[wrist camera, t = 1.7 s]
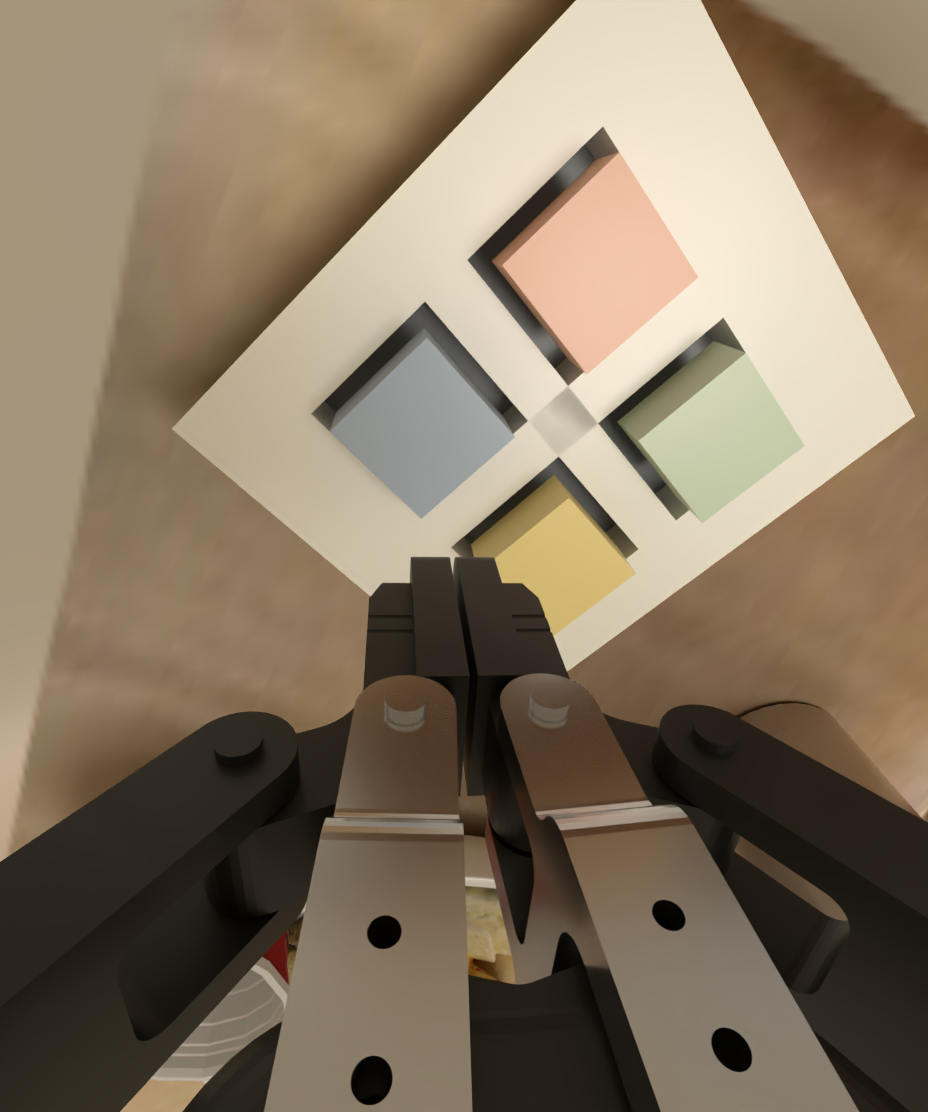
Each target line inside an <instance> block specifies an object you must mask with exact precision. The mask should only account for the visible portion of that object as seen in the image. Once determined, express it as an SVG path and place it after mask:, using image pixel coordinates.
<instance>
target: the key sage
mask: <svg viewBox="0 0 928 1112" xmlns="http://www.w3.org/2000/svg"><path fill="white" fill-rule="evenodd" d="M618 423H619V425H620V426H621V427H622V428H623V430H624V431H625V432H626V434H627V435H628V436H629V437H630V439H631V440H632V441H633V442H634V444H635V445H636V446H637V448H638V449H639V450H640V451H641V453H642V454H643V455H644V457H645V458H646V459H647V460H648V462H649V463H650V464H651V465H652V467H653V468H654V469H655V471H656V472H657V473H658V474H659V476H660V477H661V478H662V480H663V481H664V482H665V483H666V485H667V486H668V487H669V488H670V490H671V491H672V492H673V494H674V495H675V496H676V497H677V499H678V500H679V501H680V502H681V503H682V504H683V505H684V506H686V507H687V508H688V509H689V510H690V511H691V512H692V513H693V514H694V515H695V516H696V517H697V518H698V519H699V520H700V521H701V522H702V523H703V522H705V521H706V520H707V519H709V518H710V517H711V516H713V515H714V514H715V513H717V512H718V511H719V510H720V509H722V508H723V507H724V506H726V505H727V504H728V503H730V502H731V501H732V500H734V499H735V498H736V497H738V496H739V495H740V494H742V493H743V492H744V491H746V490H747V489H748V488H750V487H751V486H752V485H754V484H755V483H756V482H757V481H759V480H760V479H761V478H763V477H764V476H765V475H767V474H768V473H769V472H771V471H772V470H773V469H775V468H776V467H777V466H779V465H780V464H781V463H783V462H784V461H785V460H787V459H788V458H789V457H790V456H792V455H793V454H794V453H796V452H797V451H798V450H800V449H801V448H802V447H804V444H803V443H802V441H801V439H800V438H799V436H798V435H797V433H796V431H795V430H794V428H793V427H792V425H791V423H790V422H789V420H788V419H787V417H786V416H785V414H784V412H783V411H782V409H781V408H780V406H779V404H778V403H777V401H776V400H775V398H774V396H773V395H772V393H771V392H770V390H769V389H768V387H767V385H766V384H765V382H764V381H763V379H762V377H761V376H760V374H759V373H758V371H757V370H756V368H755V366H754V365H753V363H752V362H751V360H750V358H749V357H748V355H747V354H746V353H745V352H742V351H740V350H737V349H734V348H732V347H729V346H726V345H724V344H721V343H718V342H715V341H713V342H712V343H711V344H710V345H709V346H707V347H706V348H705V349H704V350H703V351H701V352H700V353H699V354H698V355H697V356H695V357H694V358H693V359H692V360H691V361H689V362H688V363H687V364H686V365H685V366H683V367H682V368H681V369H680V370H679V371H677V372H676V373H675V374H674V375H673V376H672V377H670V378H669V379H668V380H667V381H666V382H664V383H663V384H662V385H661V386H660V387H658V388H657V389H656V390H655V391H654V392H652V393H651V394H650V395H649V396H648V397H646V398H645V399H644V400H643V401H642V402H640V403H639V404H638V405H637V406H636V407H634V408H633V409H632V410H631V411H630V412H628V413H627V414H626V415H625V416H624V417H622V418H621V419H620V420H619V421H618Z"/></svg>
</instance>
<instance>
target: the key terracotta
mask: <svg viewBox="0 0 928 1112" xmlns="http://www.w3.org/2000/svg"><path fill="white" fill-rule="evenodd" d="M492 262H493V264H494V265H495V266H496V268H497V269H498V270H499V271H500V273H501V274H502V275H503V276H504V278H505V279H506V280H507V282H508V283H509V284H510V285H511V287H512V288H513V289H514V291H515V292H516V293H517V294H518V296H519V297H520V298H521V299H522V301H523V302H524V303H525V305H526V306H527V307H528V308H529V310H530V311H531V312H532V313H533V315H534V316H535V317H536V319H537V320H538V321H539V322H540V324H541V325H542V326H543V328H544V329H545V330H546V331H547V333H548V334H549V335H550V336H551V338H552V339H553V340H554V342H555V343H556V344H557V345H558V347H559V348H560V349H561V351H562V352H563V353H564V354H565V356H566V357H567V358H568V359H569V361H571V362H572V363H573V364H574V365H576V366H577V367H578V368H579V369H581V370H582V371H583V372H584V373H586V374H588V373H589V372H590V371H592V370H593V369H594V368H595V367H596V366H597V365H598V364H600V363H601V362H602V361H603V360H604V359H605V358H606V357H608V356H609V355H610V354H611V353H612V352H613V351H614V350H616V349H617V348H618V347H619V346H620V345H621V344H623V343H624V342H625V341H626V340H627V339H628V338H629V337H631V336H632V335H633V334H634V333H635V332H636V331H637V330H639V329H640V328H641V327H642V326H643V325H644V324H645V323H647V322H648V321H649V320H650V319H651V318H652V317H653V316H655V315H656V314H657V313H658V312H659V311H660V310H662V309H663V308H664V307H665V306H666V305H667V304H668V303H670V302H671V301H672V300H673V299H674V298H675V297H676V296H678V295H679V294H680V293H681V292H682V291H683V290H684V289H686V288H687V287H688V286H689V285H690V284H691V283H692V282H694V281H695V280H696V279H697V278H698V276H697V274H696V273H695V271H694V270H693V268H692V266H691V265H690V263H689V262H688V260H687V258H686V257H685V255H684V254H683V252H682V250H681V249H680V247H679V246H678V244H677V243H676V241H675V239H674V238H673V236H672V235H671V233H670V231H669V230H668V228H667V227H666V225H665V223H664V222H663V220H662V219H661V217H660V216H659V214H658V212H657V211H656V209H655V208H654V206H653V204H652V203H651V201H650V200H649V198H648V197H647V195H646V193H645V192H644V190H643V189H642V187H641V185H640V184H639V182H638V181H637V179H636V177H635V176H634V174H633V173H632V171H631V170H630V168H629V166H628V165H627V163H626V162H625V160H624V158H623V157H622V155H621V154H620V152H618V153H615V154H612V155H609V156H605V157H602V158H599V159H596V160H595V161H594V162H593V163H592V164H591V165H590V166H589V167H588V168H587V169H586V170H585V171H584V172H582V173H581V174H580V175H579V176H578V177H577V178H576V179H575V180H574V181H573V182H572V183H571V184H570V185H569V186H568V187H567V188H566V189H565V190H564V191H563V192H562V193H561V194H560V195H559V196H558V197H557V198H556V199H555V200H554V201H553V202H552V203H551V204H550V205H549V206H548V207H547V208H545V209H544V210H543V211H542V212H541V213H540V214H539V215H538V216H537V217H536V218H535V219H534V220H533V221H532V222H531V223H530V224H529V225H528V226H527V227H526V228H525V229H524V230H523V231H522V232H521V233H520V234H519V235H518V236H517V237H516V238H515V239H514V240H513V241H512V242H511V243H509V244H508V245H507V246H506V247H505V248H504V249H503V250H502V251H501V252H500V253H499V254H498V255H497V256H496V257H495V258H494V259H493V260H492Z"/></svg>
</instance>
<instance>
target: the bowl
mask: <svg viewBox="0 0 928 1112" xmlns="http://www.w3.org/2000/svg"><path fill="white" fill-rule="evenodd" d="M464 857H465V889H466V921H467V954H468V975H472V976H477V977H482V978H486V979H491V980H496V981H501V982H506V983H510V984H515V975H514V967H513V960H512V955H511V951H510V946H509V942H508V938H507V933H506V929H505V924H504V920H503V916H502V911H501V907H500V903H499V898H498V894H497V890H496V885H495V881H494V877H493V872H492V868H491V864H490V859H489V855H488V850H487V846H486V840H485V837H478V836H470V835H464ZM306 903H307V902H306ZM305 908H306V905H305V907H304V909H303V910H302V912H301V914H300V915H299V916H298V918H297V919H296V920H295V921H294V923H293V924H292V925H291V926H290V927H289V928H288V929H287V930H286V940H287V950H288V960H287V967H288V977H289V981H288V985H289V986H290V982H291V977H292V972H293V967H294V962H295V957H296V952H297V947H298V942H299V937H300V933H301V928H302V923H303V918H304V913H305ZM208 1081H209V1080H208ZM208 1081H203V1082H204V1083H205V1084H206V1083H207V1082H208Z"/></svg>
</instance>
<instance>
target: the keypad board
mask: <svg viewBox="0 0 928 1112" xmlns="http://www.w3.org/2000/svg"><path fill="white" fill-rule="evenodd" d="M618 152H620V154H621V155H622V157H623V158H624V160H625V162H626V163H627V165H628V166H629V168H630V170H631V171H632V173H633V174H634V176H635V177H636V179H637V181H638V182H639V184H640V185H641V187H642V189H643V190H644V192H645V193H646V195H647V197H648V198H649V200H650V201H651V203H652V204H653V206H654V208H655V209H656V211H657V212H658V214H659V216H660V217H661V219H662V220H663V222H664V223H665V225H666V227H667V228H668V230H669V231H670V233H671V235H672V236H673V238H674V239H675V241H676V243H677V244H678V246H679V247H680V249H681V250H682V252H683V254H684V255H685V257H686V258H687V260H688V262H689V263H690V265H691V266H692V268H693V270H694V271H695V273H696V274H697V276H698V278H697V279H696V280H695V281H694V282H692V283H691V284H690V285H689V286H688V287H687V288H686V289H684V290H683V291H682V292H681V293H680V294H679V295H678V296H676V297H675V298H674V299H673V300H672V301H671V302H670V303H668V304H667V305H666V306H665V307H664V308H663V309H662V310H660V311H659V312H658V313H657V314H656V315H655V316H653V317H652V318H651V319H650V320H649V321H648V322H647V323H645V324H644V325H643V326H642V327H641V328H640V329H639V330H637V331H636V332H635V333H634V334H633V335H632V336H631V337H629V338H628V339H627V340H626V341H625V342H624V343H623V344H621V345H620V346H619V347H618V348H617V349H616V350H614V351H613V352H612V353H611V354H610V355H609V356H608V357H606V358H605V359H604V360H603V361H602V362H601V363H600V364H598V365H597V366H596V367H595V368H594V369H593V370H592V371H590V372H589V373H588V374H586V373H584V372H583V371H582V370H581V369H579V368H578V367H577V366H576V365H574V364H573V363H572V362H571V361H569V359H568V358H567V357H566V356H565V354H564V353H563V352H562V351H561V349H560V348H559V347H558V345H557V344H556V343H555V342H554V340H553V339H552V338H551V336H550V335H549V334H548V333H547V331H546V330H545V329H544V328H543V326H542V325H541V324H540V322H539V321H538V320H537V319H536V317H535V316H534V315H533V313H532V312H531V311H530V310H529V308H528V307H527V306H526V305H525V303H524V302H523V301H522V299H521V298H520V297H519V296H518V294H517V293H516V292H515V291H514V289H513V288H512V287H511V285H510V284H509V283H508V282H507V280H506V279H505V278H504V276H503V275H502V274H501V273H500V271H499V270H498V269H497V268H496V266H495V265H494V264H493V262H492V260H493V259H494V258H495V257H496V256H497V255H498V254H499V253H500V252H501V251H502V250H503V249H504V248H505V247H506V246H507V245H508V244H509V243H511V242H512V241H513V240H514V239H515V238H516V237H517V236H518V235H519V234H520V233H521V232H522V231H523V230H524V229H525V228H526V227H527V226H528V225H529V224H530V223H531V222H532V221H533V220H534V219H535V218H536V217H537V216H538V215H539V214H540V213H541V212H542V211H543V210H544V209H545V208H547V207H548V206H549V205H550V204H551V203H552V202H553V201H554V200H555V199H556V198H557V197H558V196H559V195H560V194H561V193H562V192H563V191H564V190H565V189H566V188H567V187H568V186H569V185H570V184H571V183H572V182H573V181H574V180H575V179H576V178H577V177H578V176H579V175H580V174H581V173H582V172H584V171H585V170H586V169H587V168H588V167H589V166H590V165H591V164H592V163H593V162H594V161H595V160H596V159H599V158H602V157H605V156H609V155H612V154H615V153H618ZM423 327H425V328H426V330H427V331H428V332H429V333H430V334H431V335H432V336H433V338H434V339H435V340H436V341H437V342H438V343H439V344H440V345H441V347H442V348H443V349H444V350H445V351H446V352H447V353H448V355H449V356H450V357H451V358H452V359H453V360H454V361H455V363H456V364H457V365H458V366H459V367H460V368H461V369H462V370H463V372H464V373H465V374H466V375H467V376H468V377H469V378H470V380H471V381H472V382H473V383H474V384H475V385H476V386H477V388H478V389H479V390H480V391H481V392H482V393H483V394H484V395H485V397H486V398H487V399H488V400H489V401H490V402H491V403H492V405H493V406H494V407H495V408H496V409H497V410H498V411H499V412H500V414H501V415H502V416H503V417H504V418H505V420H506V422H507V424H508V425H509V427H510V429H511V431H512V432H513V434H514V436H515V438H514V439H512V440H511V441H510V442H509V443H508V444H507V445H506V446H504V447H503V448H502V449H501V450H500V451H499V452H497V453H496V454H495V455H494V456H493V457H492V458H491V459H489V460H488V461H487V462H486V463H485V464H484V465H483V466H481V467H480V468H479V469H478V470H477V471H476V472H475V473H473V474H472V475H471V476H470V477H469V478H468V479H467V480H465V481H464V482H463V483H462V484H461V485H460V486H458V487H457V488H456V489H455V490H454V491H453V492H452V493H450V494H449V495H448V496H447V497H446V498H445V499H444V500H442V501H441V502H440V503H439V504H438V505H437V506H436V507H434V508H433V509H432V510H431V511H430V512H429V513H428V514H426V515H425V516H424V517H423V518H422V519H421V518H420V517H419V516H418V515H417V514H416V513H415V512H414V511H413V510H411V509H410V508H409V507H408V506H407V505H406V504H405V503H404V502H403V501H402V500H401V499H400V498H399V497H398V496H397V495H396V494H395V493H394V492H393V491H392V490H391V489H389V488H388V487H387V486H386V485H385V484H384V483H383V482H382V481H381V480H380V479H379V478H378V477H377V476H376V475H375V474H374V473H373V472H372V471H371V470H370V469H369V468H367V467H366V466H365V465H364V464H363V463H362V462H361V461H360V460H359V459H358V458H357V457H356V456H355V455H354V454H353V453H352V452H351V451H350V450H349V449H348V448H347V447H345V446H344V445H343V444H342V443H341V442H340V441H339V440H338V439H337V438H336V437H335V436H334V435H333V434H332V433H331V432H330V429H331V426H332V423H333V420H334V416H335V413H336V412H337V411H338V410H339V409H340V408H341V407H342V406H343V405H344V404H345V403H346V402H347V401H348V400H349V399H350V398H351V397H352V396H353V395H354V394H355V393H356V392H357V391H358V390H359V389H360V388H361V387H362V386H363V385H364V384H365V383H367V382H368V381H369V380H370V379H371V378H372V377H373V376H374V375H375V374H376V373H377V372H378V371H379V370H380V369H381V368H382V367H383V366H384V365H385V364H386V363H387V362H388V361H389V360H390V359H391V358H392V357H393V356H394V355H395V354H396V353H397V352H398V351H399V350H400V349H401V348H403V347H404V346H405V345H406V344H407V343H408V342H409V341H410V340H411V339H412V338H413V337H414V336H415V335H416V334H417V333H418V332H419V331H420V330H421V329H422V328H423ZM713 341H715V342H718V343H721V344H724V345H726V346H729V347H732V348H734V349H737V350H740V351H742V352H745V353H746V354H747V355H748V357H749V358H750V360H751V362H752V363H753V365H754V366H755V368H756V370H757V371H758V373H759V374H760V376H761V377H762V379H763V381H764V382H765V384H766V385H767V387H768V389H769V390H770V392H771V393H772V395H773V396H774V398H775V400H776V401H777V403H778V404H779V406H780V408H781V409H782V411H783V412H784V414H785V416H786V417H787V419H788V420H789V422H790V423H791V425H792V427H793V428H794V430H795V431H796V433H797V435H798V436H799V438H800V439H801V441H802V443H803V444H804V447H802V448H801V449H800V450H798V451H797V452H796V453H794V454H793V455H792V456H790V457H789V458H788V459H787V460H785V461H784V462H783V463H781V464H780V465H779V466H777V467H776V468H775V469H773V470H772V471H771V472H769V473H768V474H767V475H765V476H764V477H763V478H761V479H760V480H759V481H757V482H756V483H755V484H754V485H752V486H751V487H750V488H748V489H747V490H746V491H744V492H743V493H742V494H740V495H739V496H738V497H736V498H735V499H734V500H732V501H731V502H730V503H728V504H727V505H726V506H724V507H723V508H722V509H720V510H719V511H718V512H717V513H715V514H714V515H713V516H711V517H710V518H709V519H707V520H706V521H705V522H703V523H702V522H701V521H700V520H699V519H698V518H697V517H696V516H695V515H694V514H693V513H692V512H691V511H690V510H689V509H688V508H687V507H686V506H684V505H683V504H682V503H681V502H680V501H679V500H678V499H677V497H676V496H675V495H674V494H673V492H672V491H671V490H670V488H669V487H668V486H667V485H666V483H665V482H664V481H663V480H662V478H661V477H660V476H659V474H658V473H657V472H656V471H655V469H654V468H653V467H652V465H651V464H650V463H649V462H648V460H647V459H646V458H645V457H644V455H643V454H642V453H641V451H640V450H639V449H638V448H637V446H636V445H635V444H634V442H633V441H632V440H631V439H630V437H629V436H628V435H627V434H626V432H625V431H624V430H623V428H622V427H621V426H620V425H619V423H618V421H619V420H620V419H621V418H622V417H624V416H625V415H626V414H627V413H628V412H630V411H631V410H632V409H633V408H634V407H636V406H637V405H638V404H639V403H640V402H642V401H643V400H644V399H645V398H646V397H648V396H649V395H650V394H651V393H652V392H654V391H655V390H656V389H657V388H658V387H660V386H661V385H662V384H663V383H664V382H666V381H667V380H668V379H669V378H670V377H672V376H673V375H674V374H675V373H676V372H677V371H679V370H680V369H681V368H682V367H683V366H685V365H686V364H687V363H688V362H689V361H691V360H692V359H693V358H694V357H695V356H697V355H698V354H699V353H700V352H701V351H703V350H704V349H705V348H706V347H707V346H709V345H710V344H711V343H712V342H713ZM913 417H915V415H914V413H913V411H912V409H911V407H910V405H909V403H908V401H907V399H906V398H905V396H904V394H903V392H902V390H901V388H900V386H899V384H898V382H897V380H896V378H895V376H894V374H893V372H892V370H891V368H890V367H889V365H888V363H887V361H886V359H885V357H884V355H883V353H882V351H881V349H880V347H879V345H878V343H877V341H876V339H875V337H874V335H873V334H872V332H871V330H870V328H869V326H868V324H867V322H866V320H865V318H864V316H863V314H862V312H861V310H860V308H859V306H858V304H857V303H856V301H855V299H854V297H853V295H852V293H851V291H850V289H849V287H848V285H847V283H846V281H845V279H844V277H843V275H842V273H841V272H840V270H839V268H838V266H837V264H836V262H835V260H834V258H833V256H832V254H831V252H830V250H829V248H828V246H827V244H826V242H825V240H824V239H823V237H822V235H821V233H820V231H819V229H818V227H817V225H816V223H815V221H814V219H813V217H812V215H811V213H810V211H809V209H808V208H807V206H806V204H805V202H804V200H803V198H802V196H801V194H800V192H799V190H798V188H797V186H796V184H795V182H794V180H793V178H792V177H791V175H790V173H789V171H788V169H787V167H786V165H785V163H784V161H783V159H782V157H781V155H780V153H779V151H778V149H777V147H776V146H775V144H774V142H773V140H772V138H771V136H770V134H769V132H768V130H767V128H766V126H765V124H764V122H763V120H762V118H761V116H760V114H759V113H758V111H757V109H756V107H755V105H754V103H753V101H752V99H751V97H750V95H749V93H748V91H747V89H746V87H745V85H744V83H743V82H742V80H741V78H740V76H739V74H738V72H737V70H736V68H735V66H734V64H733V62H732V60H731V58H730V56H729V54H728V52H727V51H726V49H725V47H724V45H723V43H722V41H721V39H720V37H719V35H718V33H717V31H716V29H715V27H714V25H713V23H712V21H711V19H710V18H709V16H708V14H707V12H706V10H705V8H704V6H703V4H702V2H701V0H576V1H575V2H574V3H573V4H572V5H571V6H570V7H569V8H568V9H567V10H566V11H565V13H564V14H563V15H562V16H561V17H560V18H559V19H558V20H557V21H556V22H555V23H554V24H553V25H552V26H551V27H550V28H549V30H548V31H547V32H546V33H545V34H544V35H543V36H542V37H541V38H540V39H539V40H538V41H537V42H536V43H535V44H534V45H533V46H532V48H531V49H530V50H529V51H528V52H527V53H526V54H525V55H524V56H523V57H522V58H521V59H520V60H519V61H518V62H517V63H516V64H515V66H514V67H513V68H512V69H511V70H510V71H509V72H508V73H507V74H506V75H505V76H504V77H503V78H502V79H501V80H500V81H499V82H498V84H497V85H496V86H495V87H494V88H493V89H492V90H491V91H490V92H489V93H488V94H487V95H486V96H485V97H484V98H483V99H482V100H481V102H480V103H479V104H478V105H477V106H476V107H475V108H474V109H473V110H472V111H471V112H470V113H469V114H468V115H467V116H466V117H465V119H464V120H463V121H462V122H461V123H460V124H459V125H458V126H457V127H456V128H455V129H454V130H453V131H452V132H451V133H450V134H449V135H448V137H447V138H446V139H445V140H444V141H443V142H442V143H441V144H440V145H439V146H438V147H437V148H436V149H435V150H434V151H433V152H432V153H431V155H430V156H429V157H428V158H427V159H426V160H425V161H424V162H423V163H422V164H421V165H420V166H419V167H418V168H417V169H416V170H415V171H414V173H413V174H412V175H411V176H410V177H409V178H408V179H407V180H406V181H405V182H404V183H403V184H402V185H401V186H400V187H399V188H398V190H397V191H396V192H395V193H394V194H393V195H392V196H391V197H390V198H389V199H388V200H387V201H386V202H385V203H384V204H383V205H382V206H381V208H380V209H379V210H378V211H377V212H376V213H375V214H374V215H373V216H372V217H371V218H370V219H369V220H368V221H367V222H366V223H365V224H364V226H363V227H362V228H361V229H360V230H359V231H358V232H357V233H356V234H355V235H354V236H353V237H352V238H351V239H350V240H349V241H348V242H347V244H346V245H345V246H344V247H343V248H342V249H341V250H340V251H339V252H338V253H337V254H336V255H335V256H334V257H333V258H332V259H331V260H330V262H329V263H328V264H327V265H326V266H325V267H324V268H323V269H322V270H321V271H320V272H319V273H318V274H317V275H316V276H315V277H314V279H313V280H312V281H311V282H310V283H309V284H308V285H307V286H306V287H305V288H304V289H303V290H302V291H301V292H300V293H299V294H298V295H297V297H296V298H295V299H294V300H293V301H292V302H291V303H290V304H289V305H288V306H287V307H286V308H285V309H284V310H283V311H282V312H281V313H280V315H279V316H278V317H277V318H276V319H275V320H274V321H273V322H272V323H271V324H270V325H269V326H268V327H267V328H266V329H265V330H264V331H263V333H262V334H261V335H260V336H259V337H258V338H257V339H256V340H255V341H254V342H253V343H252V344H251V345H250V346H249V347H248V348H247V349H246V351H245V352H244V353H243V354H242V355H241V356H240V357H239V358H238V359H237V360H236V361H235V362H234V363H233V364H232V365H231V366H230V368H229V369H228V370H227V371H226V372H225V373H224V374H223V375H222V376H221V377H220V378H219V379H218V380H217V381H216V382H215V383H214V384H213V386H212V387H211V388H210V389H209V390H208V391H207V392H206V393H205V394H204V395H203V396H202V397H201V398H200V399H199V400H198V401H197V402H196V404H195V405H194V406H193V407H192V408H191V409H190V410H189V411H188V412H187V413H186V414H185V415H184V416H183V417H182V418H181V419H180V420H179V422H178V423H177V424H176V425H175V426H174V427H173V428H172V430H173V431H175V432H176V433H177V434H178V435H179V436H181V437H182V438H183V439H184V440H185V441H187V442H188V443H189V444H190V445H191V446H192V447H194V448H195V449H196V450H197V451H198V452H200V453H201V454H202V455H203V456H204V457H206V458H207V459H208V460H209V461H210V462H211V463H213V464H214V465H215V466H216V467H217V468H219V469H220V470H221V471H222V472H223V473H225V474H226V475H227V476H228V477H229V478H230V479H232V480H233V481H234V482H235V483H236V484H238V485H239V486H240V487H241V488H242V489H244V490H245V491H246V492H247V493H248V494H249V495H251V496H252V497H253V498H254V499H255V500H257V501H258V502H259V503H260V504H261V505H262V506H264V507H265V508H266V509H267V510H268V511H270V512H271V513H272V514H273V515H274V516H276V517H277V518H278V519H279V520H280V521H281V522H283V523H284V524H285V525H286V526H287V527H289V528H290V529H291V530H292V531H293V532H295V533H296V534H297V535H298V536H299V537H300V538H302V539H303V540H304V541H305V542H306V543H308V544H309V545H310V546H311V547H312V548H314V549H315V550H316V551H317V552H318V553H319V554H321V555H322V556H323V557H324V558H325V559H327V560H328V561H329V562H330V563H331V564H333V565H334V566H335V567H336V568H337V569H338V570H340V571H341V572H342V573H343V574H344V575H346V576H347V577H348V578H349V579H350V580H351V581H353V582H354V583H355V584H356V585H357V586H359V587H360V588H361V589H362V590H363V591H365V592H366V593H367V594H368V595H369V596H370V597H371V595H372V594H373V593H374V592H375V591H376V589H377V588H378V587H379V586H380V585H381V584H382V583H410V560H411V557H450V561H451V567H452V573H453V566H454V559H455V557H474V555H473V551H472V547H471V544H472V543H473V542H474V541H475V540H477V539H478V538H479V537H480V536H481V535H483V534H484V533H485V532H486V531H487V530H489V529H490V528H491V527H492V526H493V525H495V524H496V523H497V522H498V521H499V520H501V519H502V518H503V517H504V516H505V515H507V514H508V513H509V512H510V511H511V510H512V509H514V508H515V507H516V506H517V505H518V504H520V503H521V502H522V501H523V500H524V499H526V498H527V497H528V496H529V495H530V494H532V493H533V492H534V491H535V490H536V489H538V488H539V487H540V486H541V485H542V484H544V483H545V482H546V481H547V480H548V479H550V478H551V477H552V476H553V475H555V476H556V477H557V478H558V480H559V481H560V482H561V483H562V484H563V485H564V486H565V487H566V489H567V490H568V491H569V492H570V493H571V494H572V495H573V497H574V498H575V499H576V500H577V501H578V502H579V503H580V504H581V506H582V507H583V508H584V509H585V510H586V511H587V512H588V514H589V515H590V516H591V517H592V518H593V519H594V520H595V522H596V523H597V524H598V525H599V526H600V527H601V528H602V529H603V531H604V532H605V533H606V534H607V535H608V536H609V537H610V539H611V540H612V541H613V542H614V543H615V544H616V545H617V547H618V548H619V550H620V551H621V553H622V554H623V555H624V557H625V558H626V560H627V561H628V563H629V564H630V566H631V567H632V569H633V570H634V571H635V573H636V574H635V575H633V576H632V577H631V578H629V579H628V580H627V581H625V582H624V583H623V584H621V585H620V586H619V587H617V588H616V589H615V590H613V591H612V592H611V593H609V594H608V595H607V596H606V597H604V598H603V599H602V600H600V601H599V602H598V603H596V604H595V605H594V606H592V607H591V608H590V609H588V610H587V611H586V612H584V613H583V614H582V615H580V616H579V617H578V618H576V619H575V620H574V621H572V622H571V623H570V624H569V625H567V626H566V627H565V628H563V629H562V630H561V631H559V632H558V633H557V634H555V635H554V636H553V637H554V639H555V642H556V644H557V647H558V650H559V652H560V655H561V657H562V660H563V663H564V665H565V668H566V670H567V671H569V670H570V669H571V668H573V667H574V666H575V665H577V664H578V663H579V662H581V661H582V660H584V659H585V658H586V657H588V656H589V655H590V654H592V653H593V652H594V651H596V650H597V649H599V648H600V647H601V646H603V645H604V644H605V643H607V642H608V641H609V640H611V639H612V638H614V637H615V636H616V635H618V634H619V633H620V632H622V631H623V630H624V629H626V628H627V627H629V626H630V625H631V624H633V623H634V622H635V621H637V620H638V619H639V618H641V617H642V616H644V615H645V614H646V613H648V612H649V611H650V610H652V609H653V608H654V607H656V606H657V605H658V604H660V603H661V602H663V601H664V600H665V599H667V598H668V597H669V596H671V595H672V594H673V593H675V592H676V591H678V590H679V589H680V588H682V587H683V586H684V585H686V584H687V583H688V582H690V581H691V580H693V579H694V578H695V577H697V576H698V575H699V574H701V573H702V572H703V571H705V570H706V569H708V568H709V567H710V566H712V565H713V564H714V563H716V562H717V561H718V560H720V559H721V558H722V557H724V556H725V555H727V554H728V553H729V552H731V551H732V550H733V549H735V548H736V547H737V546H739V545H740V544H742V543H743V542H744V541H746V540H747V539H748V538H750V537H751V536H752V535H754V534H755V533H757V532H758V531H759V530H761V529H762V528H763V527H765V526H766V525H767V524H769V523H770V522H772V521H773V520H774V519H776V518H777V517H778V516H780V515H781V514H782V513H784V512H785V511H787V510H788V509H789V508H791V507H792V506H793V505H795V504H796V503H797V502H799V501H800V500H801V499H803V498H804V497H806V496H807V495H808V494H810V493H811V492H812V491H814V490H815V489H816V488H818V487H819V486H821V485H822V484H823V483H825V482H826V481H827V480H829V479H830V478H831V477H833V476H834V475H836V474H837V473H838V472H840V471H841V470H842V469H844V468H845V467H846V466H848V465H849V464H851V463H852V462H853V461H855V460H856V459H857V458H859V457H860V456H861V455H863V454H864V453H865V452H867V451H868V450H870V449H871V448H872V447H874V446H875V445H876V444H878V443H879V442H880V441H882V440H883V439H885V438H886V437H887V436H889V435H890V434H891V433H893V432H894V431H895V430H897V429H898V428H900V427H901V426H902V425H904V424H905V423H906V422H908V421H909V420H910V419H912V418H913Z"/></svg>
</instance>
